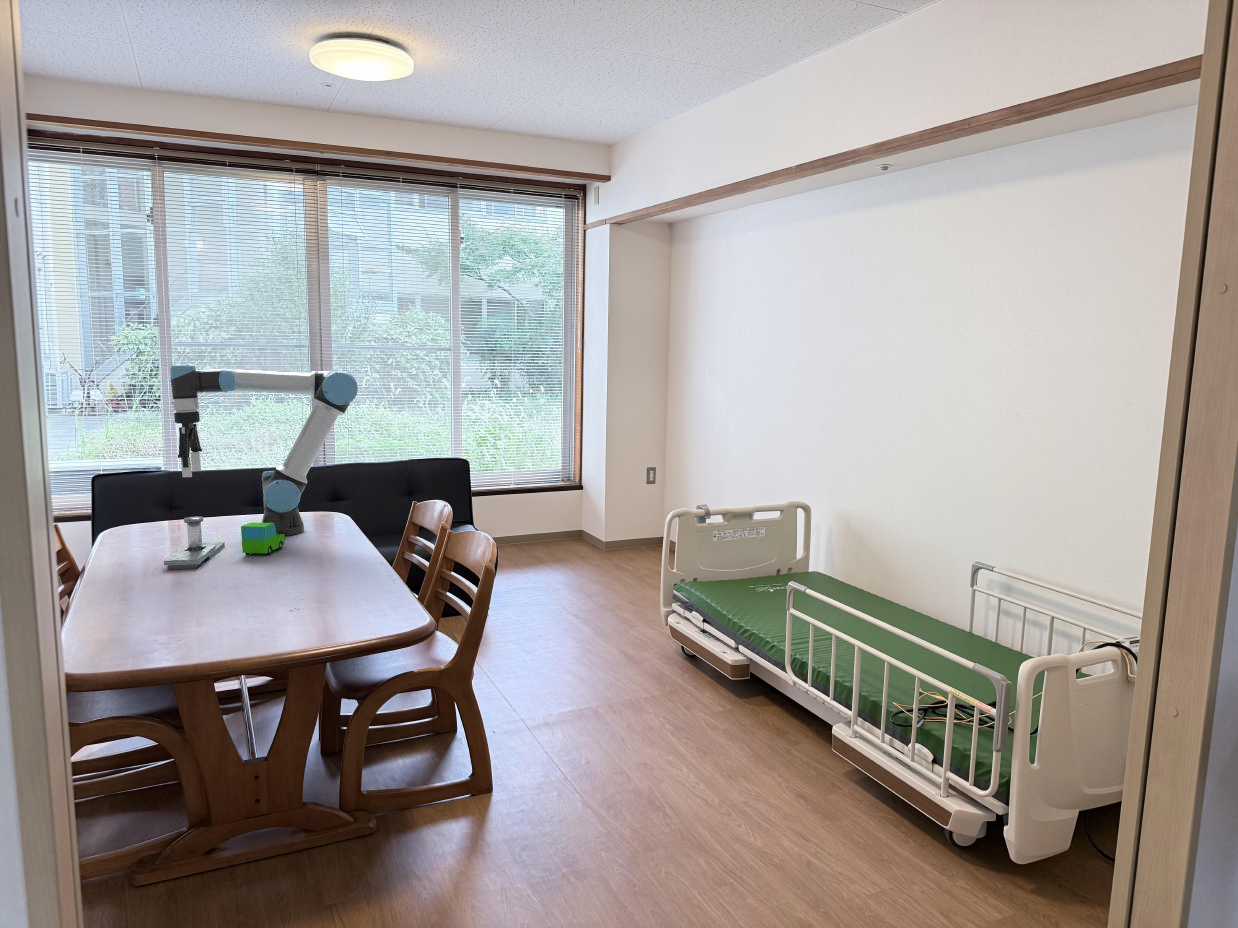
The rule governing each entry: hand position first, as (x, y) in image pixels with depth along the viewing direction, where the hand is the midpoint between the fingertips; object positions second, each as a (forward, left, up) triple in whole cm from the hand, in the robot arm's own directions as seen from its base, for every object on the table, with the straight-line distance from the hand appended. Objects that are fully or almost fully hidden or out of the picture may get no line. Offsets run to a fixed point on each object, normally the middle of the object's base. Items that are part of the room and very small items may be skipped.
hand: (192, 474), depth 288 cm
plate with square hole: (-4, +16, -25) cm, 30 cm away
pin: (-4, +16, -25) cm, 30 cm away
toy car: (-24, +11, -26) cm, 37 cm away
